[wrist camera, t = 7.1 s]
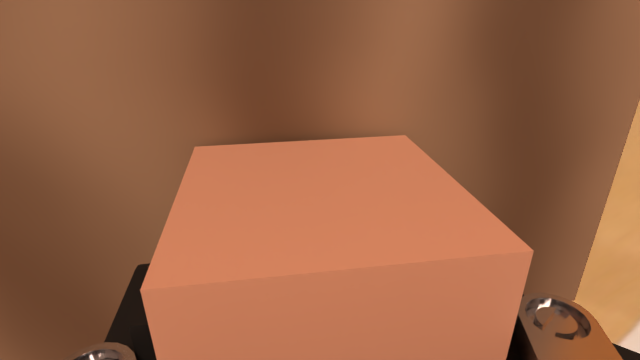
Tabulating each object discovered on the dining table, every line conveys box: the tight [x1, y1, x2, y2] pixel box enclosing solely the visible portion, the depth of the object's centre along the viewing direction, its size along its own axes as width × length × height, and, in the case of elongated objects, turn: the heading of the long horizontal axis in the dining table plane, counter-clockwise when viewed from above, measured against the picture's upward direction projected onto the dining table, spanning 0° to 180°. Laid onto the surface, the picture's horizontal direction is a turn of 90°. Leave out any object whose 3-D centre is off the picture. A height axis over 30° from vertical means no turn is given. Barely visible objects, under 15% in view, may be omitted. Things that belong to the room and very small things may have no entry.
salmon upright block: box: [140, 135, 534, 360], centre depth 9 cm, size 5×6×5 cm
